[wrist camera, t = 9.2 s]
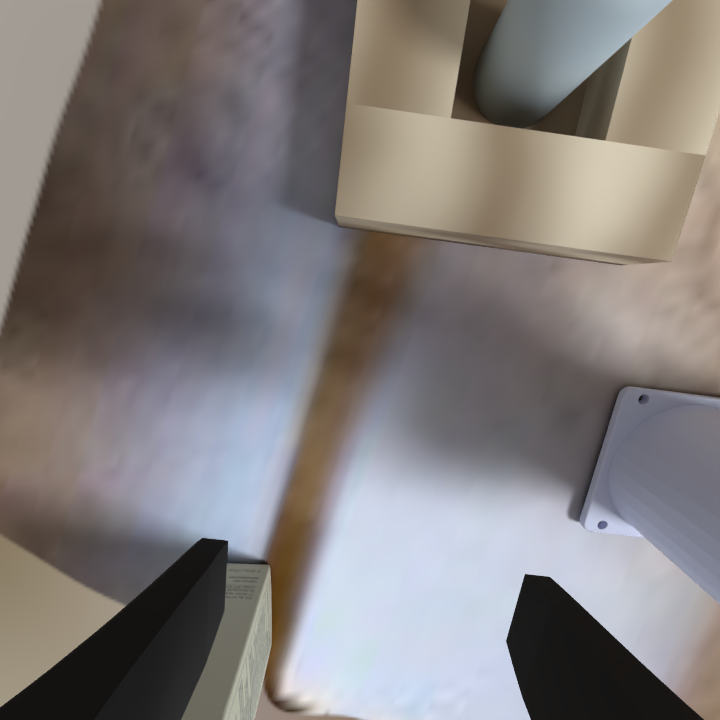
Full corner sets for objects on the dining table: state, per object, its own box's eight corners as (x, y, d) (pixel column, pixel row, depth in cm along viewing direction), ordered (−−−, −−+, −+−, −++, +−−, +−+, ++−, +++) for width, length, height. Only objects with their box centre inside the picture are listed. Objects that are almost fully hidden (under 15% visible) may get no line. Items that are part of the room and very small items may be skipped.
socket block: (723, -92, 13) (814, -186, 10) (620, 265, 16) (671, 261, 13) (380, -148, 12) (384, -260, 10) (339, 226, 15) (334, 215, 13)
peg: (576, 38, 13) (746, -155, 7) (545, 139, 14) (677, 36, 8) (488, 14, 13) (591, -202, 7) (462, 117, 14) (536, -3, 8)
